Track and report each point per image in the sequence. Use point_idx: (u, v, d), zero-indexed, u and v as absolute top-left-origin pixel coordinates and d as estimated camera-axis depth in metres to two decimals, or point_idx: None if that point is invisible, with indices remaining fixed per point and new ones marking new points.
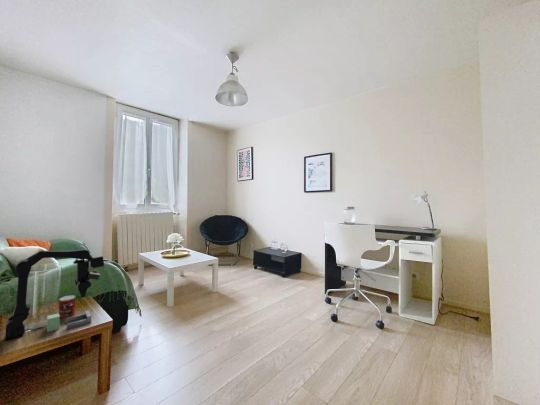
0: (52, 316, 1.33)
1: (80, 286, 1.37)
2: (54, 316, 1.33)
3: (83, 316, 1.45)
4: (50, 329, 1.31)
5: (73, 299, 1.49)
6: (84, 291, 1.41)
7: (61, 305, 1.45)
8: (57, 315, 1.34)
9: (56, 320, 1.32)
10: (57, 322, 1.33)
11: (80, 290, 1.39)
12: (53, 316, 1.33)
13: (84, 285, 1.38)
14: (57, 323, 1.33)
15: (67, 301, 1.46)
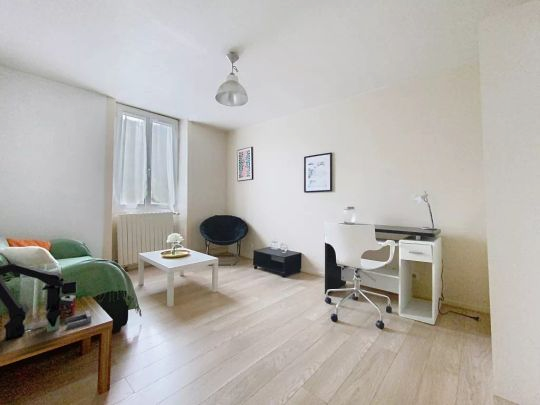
0: None
1: (49, 315, 1.25)
2: None
3: (83, 316, 1.45)
4: (50, 329, 1.31)
5: (73, 299, 1.49)
6: (54, 320, 1.29)
7: (61, 305, 1.45)
8: None
9: None
10: (57, 322, 1.33)
11: (49, 319, 1.28)
12: None
13: (53, 314, 1.27)
14: (57, 323, 1.33)
15: None
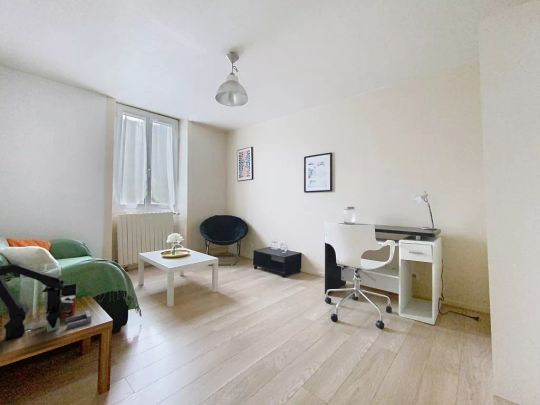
0: None
1: (49, 318, 1.25)
2: None
3: (83, 316, 1.45)
4: (50, 329, 1.31)
5: (73, 299, 1.49)
6: (54, 321, 1.31)
7: None
8: None
9: None
10: (57, 322, 1.33)
11: (49, 320, 1.29)
12: None
13: (53, 316, 1.27)
14: (57, 323, 1.33)
15: None
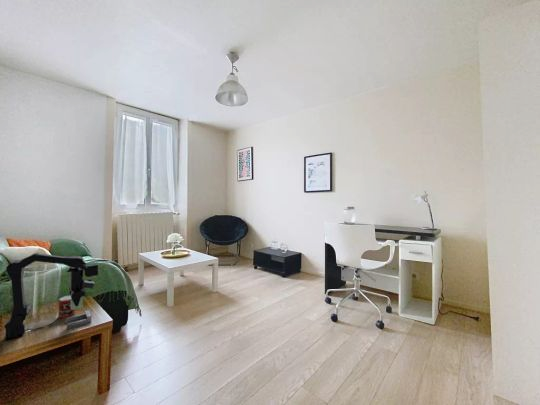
0: None
1: (74, 296, 1.32)
2: None
3: (83, 316, 1.45)
4: (74, 307, 1.37)
5: None
6: (78, 300, 1.37)
7: (61, 305, 1.45)
8: None
9: None
10: (80, 301, 1.39)
11: (73, 299, 1.35)
12: None
13: (78, 295, 1.33)
14: (80, 302, 1.39)
15: (67, 301, 1.46)
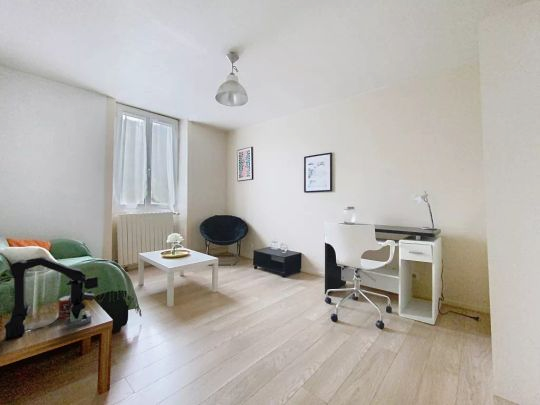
0: None
1: (73, 309, 1.32)
2: None
3: (83, 316, 1.45)
4: (74, 320, 1.37)
5: None
6: (77, 312, 1.37)
7: (61, 305, 1.45)
8: None
9: None
10: (80, 313, 1.39)
11: (73, 311, 1.35)
12: None
13: (78, 308, 1.33)
14: (80, 314, 1.39)
15: (67, 301, 1.46)
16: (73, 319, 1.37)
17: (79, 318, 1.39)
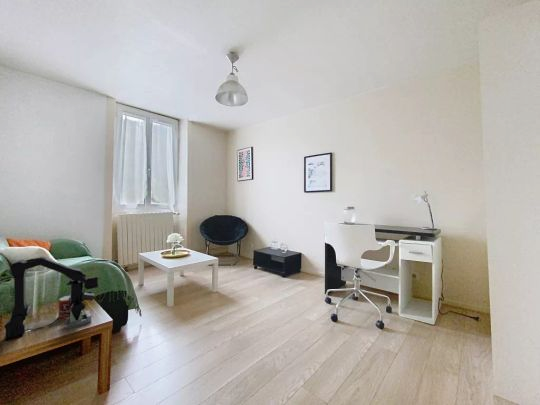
0: None
1: (73, 309, 1.32)
2: None
3: (83, 316, 1.45)
4: None
5: None
6: (78, 313, 1.36)
7: (61, 305, 1.45)
8: None
9: None
10: (80, 317, 1.39)
11: (74, 313, 1.34)
12: None
13: (78, 308, 1.33)
14: (80, 318, 1.39)
15: (67, 301, 1.46)
16: None
17: None
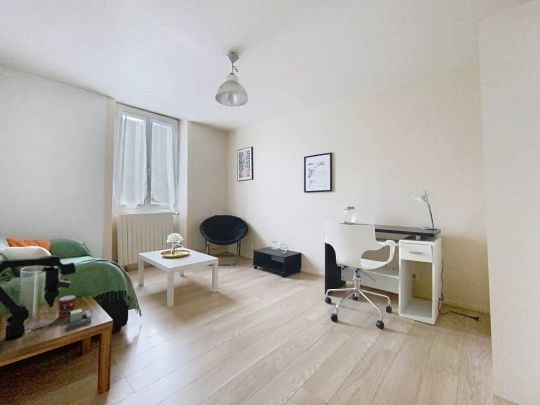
0: (75, 311, 1.39)
1: (47, 295, 1.29)
2: (77, 311, 1.39)
3: (83, 316, 1.45)
4: None
5: (73, 299, 1.49)
6: (52, 300, 1.33)
7: (61, 305, 1.45)
8: (80, 310, 1.41)
9: (79, 315, 1.39)
10: (80, 317, 1.39)
11: (47, 299, 1.31)
12: (76, 311, 1.39)
13: (51, 294, 1.30)
14: (80, 318, 1.39)
15: (67, 301, 1.46)
16: None
17: None
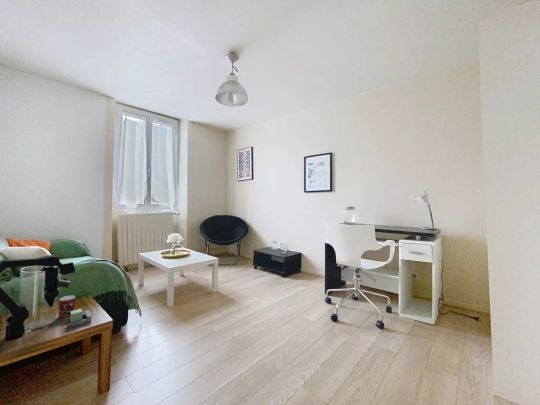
0: (75, 311, 1.39)
1: (46, 295, 1.29)
2: (77, 311, 1.39)
3: (83, 316, 1.45)
4: None
5: (73, 299, 1.49)
6: (52, 300, 1.33)
7: (61, 305, 1.45)
8: (80, 310, 1.41)
9: (79, 315, 1.39)
10: (80, 317, 1.39)
11: (47, 299, 1.31)
12: (76, 311, 1.39)
13: (51, 294, 1.30)
14: (80, 318, 1.39)
15: (67, 301, 1.46)
16: None
17: None
